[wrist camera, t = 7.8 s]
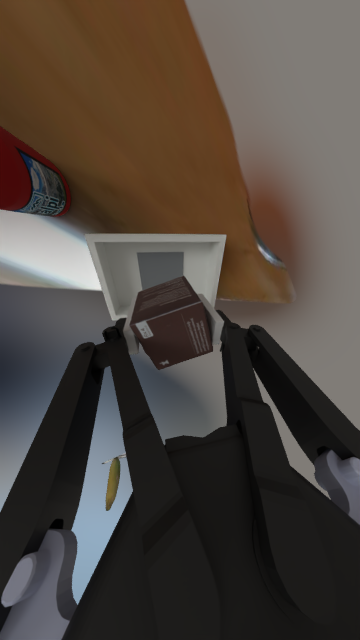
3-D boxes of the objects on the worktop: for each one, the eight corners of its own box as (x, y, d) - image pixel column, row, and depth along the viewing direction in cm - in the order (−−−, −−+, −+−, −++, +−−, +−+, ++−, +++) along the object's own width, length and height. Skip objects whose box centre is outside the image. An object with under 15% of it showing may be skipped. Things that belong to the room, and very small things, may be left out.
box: (195, 314, 19) (214, 352, 13) (155, 328, 20) (157, 372, 14) (184, 273, 16) (204, 300, 10) (136, 290, 16) (127, 326, 10)
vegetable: (112, 456, 84) (103, 510, 68) (123, 455, 87) (116, 507, 70) (111, 459, 87) (101, 512, 71) (121, 458, 89) (114, 509, 73)
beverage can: (59, 227, 22) (-13, 225, 13) (6, 183, 19) (-150, 132, 9) (83, 193, 21) (21, 160, 11) (29, 137, 17) (-132, 14, 7)
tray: (117, 308, 32) (112, 320, 28) (95, 233, 24) (84, 233, 20) (206, 302, 35) (213, 311, 31) (215, 234, 27) (226, 234, 23)
